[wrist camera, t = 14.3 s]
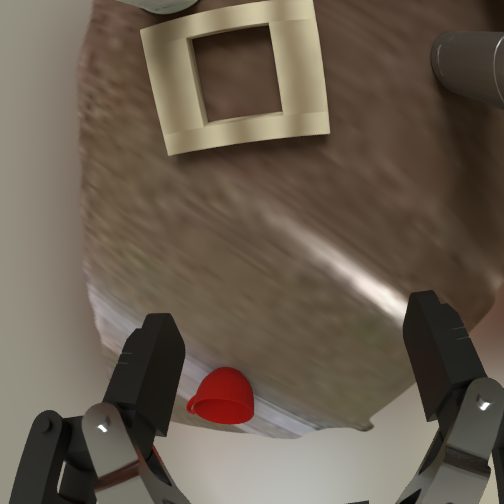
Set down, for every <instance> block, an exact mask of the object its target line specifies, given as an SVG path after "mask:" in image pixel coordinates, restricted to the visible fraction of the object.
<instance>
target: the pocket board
mask: <svg viewBox="0 0 504 504" xmlns="http://www.w3.org/2000/svg"><path fill="white" fill-rule="evenodd" d="M268 25H269V28H270V34H271V40H272V46H273V52H274V58H275V64H276V70H277V77H278V83H279V90H280V97H281V103H282V110H283V112H274V113H266V114H258V115H251V116H244V117H237V118H231V119H225V120H219V121H213V122H208V118H207V113H206V108H205V103H204V98H203V93H202V88H201V83H200V78H199V73H198V68H197V63H196V58H195V53H194V48H193V43H192V39H195V38H199V37H203V36H208V35H213V34H218V33H223V32H228V31H234V30H240V29H246V28H253V27H260V26H268ZM140 33H141V38H142V43H143V48H144V53H145V57H146V62H147V67H148V72H149V76H150V81H151V85H152V90H153V94H154V98H155V103H156V107H157V111H158V115H159V119H160V124H161V128H162V132H163V136H164V140H165V144H166V148H167V152H168V155H174V154H179V153H185V152H190V151H195V150H201V149H207V148H213V147H219V146H225V145H232V144H238V143H245V142H253V141H260V140H268V139H277V138H286V137H296V136H306V135H318V134H330V127H329V116H328V106H327V97H326V88H325V79H324V71H323V64H322V56H321V49H320V42H319V36H318V30H317V23H316V18H315V12H314V6H313V1H312V0H273V1H264V2H256V3H249V4H243V5H236V6H231V7H225V8H220V9H215V10H210V11H206V12H201V13H197V14H193V15H189V16H185V17H181V18H177V19H174V20H170V21H167V22H163V23H160V24H157V25H153V26H150V27H147V28H144V29H141V30H140Z"/></svg>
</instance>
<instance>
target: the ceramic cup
mask: <svg viewBox="0 0 504 504" xmlns="http://www.w3.org/2000/svg"><path fill="white" fill-rule="evenodd" d="M192 405H193V410H191V407H192ZM187 411H188V412H189V413H191V414H195V413H196V414H197V415H198V416H200V417H202V418H203V419H206V420H208V421H211V422H215V423H220V424H240V423H244V422H247V421H249V420H250V419H251V418H252V417H253V415H254V398H253V392H252V388H251V386H250V384H249V382H248V381H247V379H246V378H245V377H244V376H243V375H242V374H241V372H239V371H238V370H236V369H233V368H228V367H222V368H218V369H216V370H215V371H213V372H212V373H210V374H209V375H208V376H206V377H205V378H204V380H203V381H202V382H201V384H200V386H199V388H198V390H197V393H196V395H195V396H193V397H192V398H191V399H190V400H189V402H188V404H187Z"/></svg>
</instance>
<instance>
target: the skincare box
mask: <svg viewBox="0 0 504 504" xmlns="http://www.w3.org/2000/svg"><path fill="white" fill-rule="evenodd" d="M116 1H120V2H124V3H127V4H130V5H133V6H137V7H140V8H143V9H145V10H148V11H151V12H155V11H158V10H162V9H165V8H169V7H173V6H176V5H180V4H184V3H189V2H193V1H195V0H116Z"/></svg>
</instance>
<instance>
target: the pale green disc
mask: <svg viewBox="0 0 504 504" xmlns="http://www.w3.org/2000/svg"><path fill="white" fill-rule="evenodd" d="M197 1H198V0H195V1H193V2H189V3H184V4H180V5H176V6H173V7H169V8H165V9H162V10H158V11H155V12H152V13H156V14H172V13H177V12H180V11H183V10H185V9H187V8H189V7H190V6H192V5H193V4H195V3H196V2H197ZM147 11H148V10H147ZM150 12H151V11H150Z"/></svg>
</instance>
